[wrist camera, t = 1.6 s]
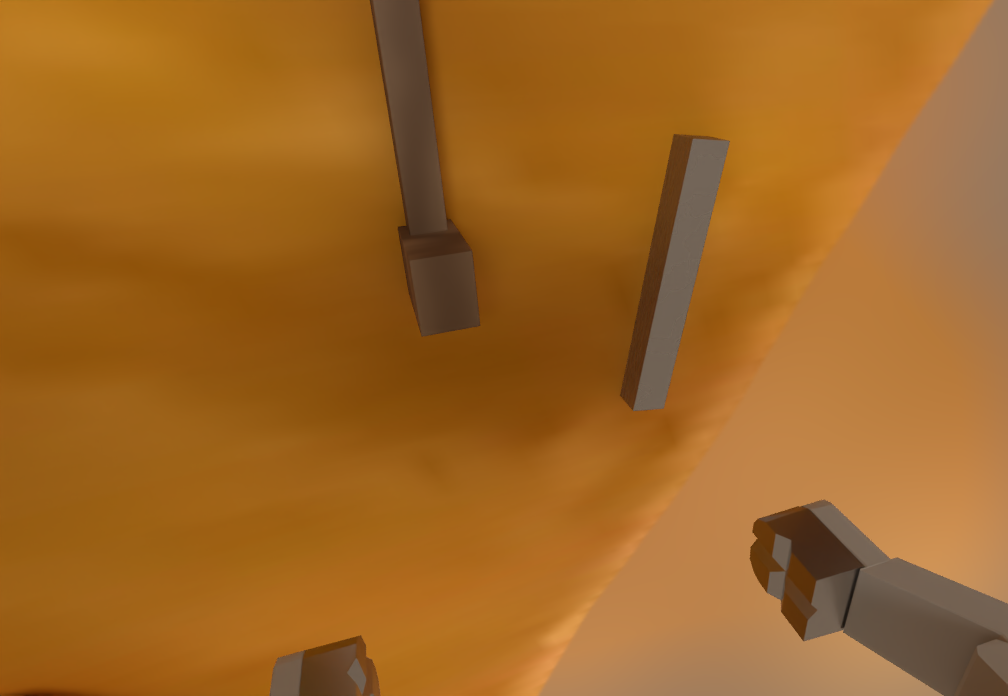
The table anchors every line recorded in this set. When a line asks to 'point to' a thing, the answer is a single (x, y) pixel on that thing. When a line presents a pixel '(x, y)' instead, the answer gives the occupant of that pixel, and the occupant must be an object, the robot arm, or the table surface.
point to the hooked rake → (422, 178)
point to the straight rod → (672, 267)
